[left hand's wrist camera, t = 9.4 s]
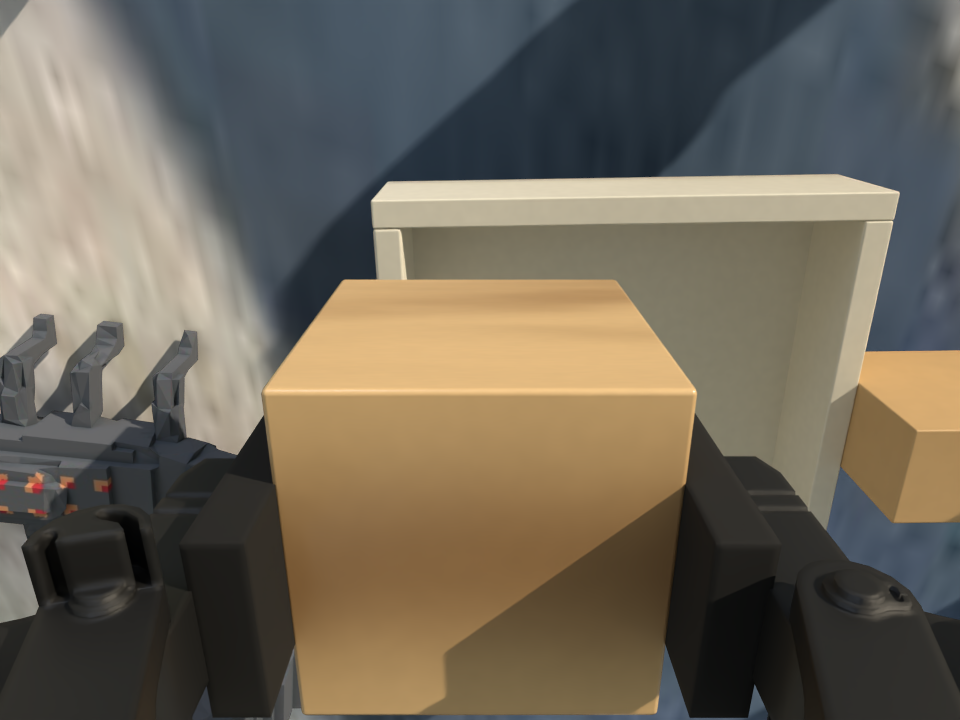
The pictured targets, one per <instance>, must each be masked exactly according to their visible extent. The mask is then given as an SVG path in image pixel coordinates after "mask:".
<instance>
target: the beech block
mask: <svg viewBox="0 0 960 720" xmlns="http://www.w3.org/2000/svg"><path fill="white" fill-rule="evenodd" d="M261 395H262V403H263V411H264V419H265V427H266V434H267V442H268V450H269V458H270V466H271V474H272V482H273V484H275V489H276V497H277V505H278V513H279V520H280V528H281V536H282V544H283V552H284V560H285V568H286V576H287V584H288V592H289V600H290V608H291V616H292V624H293V632H294V640H295V646H294V654H295V662H296V670H297V678H298V686H299V694H300V701H301V709H302V713H303V714H305V715H653V714H656V712H657V708H658V700H659V692H660V684H661V676H662V668H663V660H664V652H665V640H666V632H667V625H668V617H669V609H670V601H671V593H672V585H673V577H674V569H675V561H676V553H677V545H678V537H679V529H680V521H681V513H682V505H683V498H684V490H685V484H686V478H687V470H688V462H689V454H690V446H691V438H692V430H693V423H694V415H695V407H696V399H697V391H696V389H695V387H694V386H693V385H692V383H691V382H690V381H689V379H688V378H687V376H686V375H685V374H684V372H683V371H682V370H681V368H680V367H679V366H678V364H677V363H676V361H675V360H674V359H673V357H672V356H671V355H670V353H669V352H668V351H667V349H666V348H665V346H664V345H663V344H662V342H661V341H660V340H659V338H658V337H657V335H656V334H655V333H654V331H653V330H652V329H651V327H650V326H649V325H648V323H647V322H646V320H645V319H644V318H643V316H642V315H641V314H640V312H639V311H638V310H637V308H636V307H635V305H634V304H633V303H632V301H631V300H630V299H629V297H628V296H627V294H626V293H625V292H624V290H623V289H622V288H621V286H620V285H619V284H618V282H617V281H616V280H343V281H342V282H341V283H340V284H339V286H338V287H337V288H336V290H335V291H334V292H333V294H332V295H331V297H330V298H329V299H328V301H327V302H326V303H325V305H324V306H323V308H322V309H321V310H320V312H319V313H318V314H317V316H316V317H315V318H314V320H313V321H312V323H311V324H310V325H309V327H308V328H307V329H306V331H305V332H304V334H303V335H302V336H301V338H300V339H299V340H298V342H297V343H296V344H295V346H294V347H293V349H292V350H291V351H290V353H289V354H288V355H287V357H286V358H285V360H284V361H283V362H282V364H281V365H280V366H279V368H278V369H277V370H276V372H275V373H274V375H273V376H272V377H271V379H270V380H269V381H268V383H267V384H266V386H265V387H264V388H263V390H262V393H261Z"/></svg>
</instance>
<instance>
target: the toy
mask: <svg viewBox="0 0 960 720" xmlns="http://www.w3.org/2000/svg"><path fill="white" fill-rule="evenodd" d="M56 344H57V340H56V332H55V323H54V315H47V314H40V315H38V316H36V317H34V318H33V335H32V338H31V339H29V340H27V341H26V342H24V343H23V344H21V345H20V346H18V347H16V348H15V349H13V350H12V351H10V352H8V353H7V354H5V355H4V356H2V357H1V358H0V407H1V414H0V522H6V523H16V524H23V525H24V529H25V533H26V536H27V539H29V538H30V536H31V535H32V534H33V533H34V532H36V531H37V530H39V529H40V528H42V527H43V526H45V525H46V524H48V523H50V522H51V521H53V520H55V519H57V518H60V517H62V516H65V515H67V514H69V513H72V512H74V511H77V510H81V509H86V508H90V507H94V506H99V505H112V504H125V505H130V506H134V507H139V508H141V509H142V510H143V511H145V512H146V513H147V514H148V515H150V514H153V509H154V508H155V507H156V506H157V504H158V503H159V502H160V500H161V499H162V498H165V497H166V493H167V491H168V490H169V489H170V487H171V486H172V485H173V484H174V482H175V481H176V480H177V478H178V477H179V476H180V475H181V474H182V473H184V472H185V471H187V470H188V469H190V468H191V467H193V466H195V465H196V464H198V463H199V462H201V461H202V460H204V459H205V458H236V457H237V455H235V454H231V453H228V452H224V451H221V450H218V449H217V448H216V446H215V445H212V444H210V443H207V442H203V441H199V440H196V439H192V438H187V437H186V427H185V417H184V408H183V407H184V377H185V375H186V373H187V372H188V370H189V369H190V368H191V367H192V365H193V364H194V363H195V362H196V361H197V360H198V347H197V332H195V331H187V330H184V333H183V336H182V339H181V343H180V346H179V350H178V354H177V355H176V356H175V357H174V358H173V359H172V360H171V361H170V362H169V363H168V364H167V365H166V366H165V367H164V368H163V369H162V370H161V371H160V372H159V371H158V372H157V373H156V374H155V375H154V376H153V386H154V397H155V401H153V402H152V403H151V404H152V412H153V420H154V423H152V422H145V421H138V420H131V419H124V418H123V419H120V420H118V421H116V420H112V419H107V418H103V417H100V416H101V414H102V411H103V402H102V368H103V367H105V366H106V364H105V363H106V362H108V361H109V360H111V359H112V358H114V357H115V356H117V355H118V354H119V353H120V351H121V350H122V348H123V347H124V336H123V324H122V323H117V322H108V321H103V322H101V323H100V324H98V325H97V335H96V345H95V347H94V348H93V350H92V351H91V353H90V354H89V355H87V356H86V357H85V358H83V359H82V360H81V361H79V362H78V363H77V364H76V366H75V367H74V368H73V370H72V371H71V373H70V379H71V390H72V401H73V413H69V412H59V411H52V412H51V413H50V414H49V415H47V416H46V417H45V418H43V417H37V414H36V409H35V403H34V396H35V379H34V364H35V363H36V361H37V360H38V359H39V358H40V357H41V355H42V354H43V353H45V352H46V351H47V350H49V349H50V348H52V347H53V346H55V345H56ZM292 708H301V701H300V694H299V686H298V678H297V670H296V662H295V654H294V649H293V652H292V655H291V658H290V661H289V664H288V667H287V670H286V673H285V676H284V679H283V682H282V685H281V688H280V691H279V694H278V697H277V700H276V703H275V706H274V709H273V712H272V715H271V718H213V717H212V712H211V707H210V702H209V696H208V691H207V686H206V688H205V690H204V693H203V695H202V697H201V699H200V701H199V703H198V706H197V708H196V710H195V712H194V714H193V720H289V718H290V714H291V711H292Z"/></svg>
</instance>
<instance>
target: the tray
mask: <svg viewBox="0 0 960 720" xmlns="http://www.w3.org/2000/svg"><path fill="white" fill-rule="evenodd" d="M898 198H899V192H898V191H894V190H891V189H887V188H884V187H880V186H877V185H873V184H870V183H866V182H863V181H859V180H856V179H852V178H849V177H845V176H842V175H838V174H821V175H760V176H699V177H638V178H577V179H516V180H455V181H394V182H387V183H386V184H385V185H384V186H383V188H382V189H381V190H380V191H379V192H378V193H377V195H376V196H375V197H374V198H373V199H372V200H371V212H372V225H373V228H374V231H373V235H374V248H375V261H376V274H377V280H616V281H617V282H618V284H619V285H620V286H621V288H622V289H623V290H624V292H625V293H626V294H627V296H628V297H629V299H630V300H631V301H632V303H633V304H634V305H635V307H636V308H637V310H638V311H639V312H640V314H641V315H642V316H643V318H644V319H645V320H646V322H647V323H648V325H649V326H650V327H651V329H652V330H653V331H654V333H655V334H656V335H657V337H658V338H659V340H660V341H661V342H662V344H663V345H664V346H665V348H666V349H667V351H668V352H669V353H670V355H671V356H672V357H673V359H674V360H675V361H676V363H677V364H678V366H679V367H680V368H681V370H682V371H683V372H684V374H685V375H686V376H687V378H688V379H689V381H690V382H691V383H692V385H693V386H694V387H695V389H696V391H697V399H696V407H695V413H696V415H697V416H698V418H699V420H700V421H701V423H702V424H703V426H704V427H705V429H706V430H707V432H708V433H709V435H710V436H711V438H712V439H713V441H714V442H715V444H716V445H717V447H718V448H719V450H720V451H721V453H722V454H723V456H756V457H757V458H759V459H761V460H762V461H764V462H765V463H767V464H768V465H770V466H771V467H773V468H774V469H776V470H778V471H779V472H781V474H782V475H783V476H784V477H785V479H786V480H787V481H788V483H789V484H790V485H791V486H792V488H793V489H794V490H795V494H796V495H799V497H800V498H801V499H802V501H803V502H804V503H805V504H806V506H807V507H808V511H811V512H812V513H813V515H814V516H815V517H816V518H817V520H818V521H819V522H820V524H821V525H822V526H823V527H824V529H825V530H826V529H827V525H828V520H829V516H830V511H831V506H832V502H833V497H834V493H835V488H836V483H837V479H838V474H839V470H840V466H841V467H842V468H843V470H844V471H845V472H846V473H847V474H848V475H849V476H850V477H851V478H852V479H853V481H854V482H855V483H856V484H857V485H858V486H859V487H860V488H861V489H862V490H863V491H864V493H865V494H866V495H867V496H868V497H869V498H870V499H871V500H872V501H873V502H874V504H875V505H876V506H877V507H878V508H879V509H880V510H881V511H882V512H883V513H884V514H885V516H886V517H887V518H888V519H889V520H890V521H891V522H892V523H938V522H960V351H889V352H865V350H866V345H867V341H868V336H869V331H870V327H871V322H872V318H873V313H874V308H875V304H876V299H877V294H878V290H879V285H880V281H881V276H882V271H883V267H884V262H885V258H886V253H887V248H888V244H889V239H890V235H891V230H892V225H893V221H891V220H894V217H895V212H896V207H897V203H898Z"/></svg>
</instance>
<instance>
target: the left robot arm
mask: <svg viewBox="0 0 960 720" xmlns="http://www.w3.org/2000/svg"><path fill="white" fill-rule="evenodd" d="M21 548H22V551H23V554H24V558H25V561H26V564H27V568H28V571H29V575H30V578H31V581H32V585H33V588H34V591H35V595H36V598H37V601H38V605H39V608H38V610H37V613H36V615H33V616H29V617H26V618H22V619H17V620H13V621H8V622H3V623H0V720H193V714H194V712H195V710H196V708H197V706H198V703H199V701H200V699H201V697H202V695H203V693H204V690H205V688H206V686H207V691H208V696H209V702H210V707H211V712H212V717H213V718H271V715H272V712H273V709H274V706H275V703H276V700H277V697H278V694H279V691H280V688H281V685H282V682H283V679H284V676H285V673H286V670H287V667H288V664H289V661H290V658H291V655H292V652H293V649H294V646H295V640H294V632H293V624H292V616H291V608H290V600H289V592H288V584H287V576H286V568H285V560H284V552H283V544H282V536H281V528H280V520H279V513H278V505H277V497H276V489H275V484H273V482H272V474H271V466H270V458H269V450H268V442H267V434H266V427H265V419H264V416H263V417H262V419H261V420H260V422H259V423H258V425H257V426H256V428H255V429H254V431H253V432H252V434H251V435H250V437H249V438H248V440H247V442H246V443H245V445H244V446H243V448H242V449H241V451H240V452H239V454H238V455H237V457H236V458H205V459H204V460H202V461H201V462H199V463H198V464H196V465H195V466H193V467H191V468H190V469H188V470H187V471H185V472H184V473H182V474H181V475H180V476H179V477H178V478H177V480H176V481H175V482H174V484H173V485H172V486H171V487H170V489H169V490H168V491H167V493H166V497H165V498H162V499H161V500H160V502H159V503H158V504H157V506H156V507H155V508H154V509H153V514H150V515H148V514H147V513H146V512H145V511H143V510H142V509H141V508H139V507H134V506H130V505H125V504H112V505H99V506H94V507H90V508H86V509H81V510H77V511H74V512H72V513H69V514H67V515H65V516H62V517H60V518H57V519H55V520H53V521H51V522H50V523H48V524H46V525H45V526H43V527H42V528H40V529H39V530H37V531H36V532H34V533H33V534H32V535H31V536H30V538H29V539H28V540H27V541H26V542H25V543H24V544H23V546H22V547H21ZM665 644H666V647H667V650H668V654H669V657H670V660H671V663H672V666H673V669H674V672H675V675H676V678H677V681H678V684H679V687H680V690H681V693H682V696H683V699H684V702H685V705H686V708H687V711H688V714H689V717H690V718H748V714H749V709H750V704H751V699H752V694H753V689H754V684H755V686H756V688H757V690H758V692H759V694H760V697H761V699H762V701H763V703H764V705H765V707H766V710H767V712H768V717H767V720H960V620H957V619H952V618H947V617H943V616H938V615H935V614H931V613H928V612H924V611H923V609H922V607H921V605H920V604H919V602H918V601H917V600H916V598H915V597H914V596H913V594H912V593H911V592H910V590H908V589H907V588H906V587H904V586H903V585H902V584H900V583H899V582H898V581H896V580H895V579H894V578H892V577H891V576H889V575H887V574H885V573H882V572H880V571H878V570H876V569H874V568H872V567H870V566H866V565H862V564H859V563H855V562H851V561H849V559H848V558H847V557H846V556H845V554H844V553H843V552H842V551H841V549H840V548H839V547H838V545H837V544H836V543H835V542H834V540H833V539H832V538H831V536H830V535H829V534H828V533H827V531H826V530H825V529H824V527H823V526H822V525H821V524H820V522H819V521H818V520H817V518H816V517H815V516H814V515H813V513H812V512H811V511H808V507H807V506H806V504H805V503H804V502H803V501H802V499H801V498H800V497H799V495H796V494H795V490H794V489H793V488H792V486H791V485H790V484H789V483H788V481H787V480H786V479H785V477H784V476H783V475H782V474H781V472H779V471H778V470H776V469H774V468H773V467H771V466H770V465H768V464H767V463H765V462H764V461H762V460H761V459H759V458H757V457H756V456H723V454H722V453H721V451H720V450H719V448H718V447H717V445H716V444H715V442H714V441H713V439H712V438H711V436H710V435H709V433H708V432H707V430H706V429H705V427H704V426H703V424H702V423H701V421H700V420H699V418H698V416H697V415H696V413H695V415H694V423H693V430H692V438H691V446H690V454H689V462H688V470H687V478H686V484H685V490H684V498H683V505H682V513H681V521H680V529H679V537H678V545H677V553H676V561H675V569H674V577H673V585H672V593H671V601H670V609H669V617H668V625H667V632H666V640H665Z"/></svg>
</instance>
